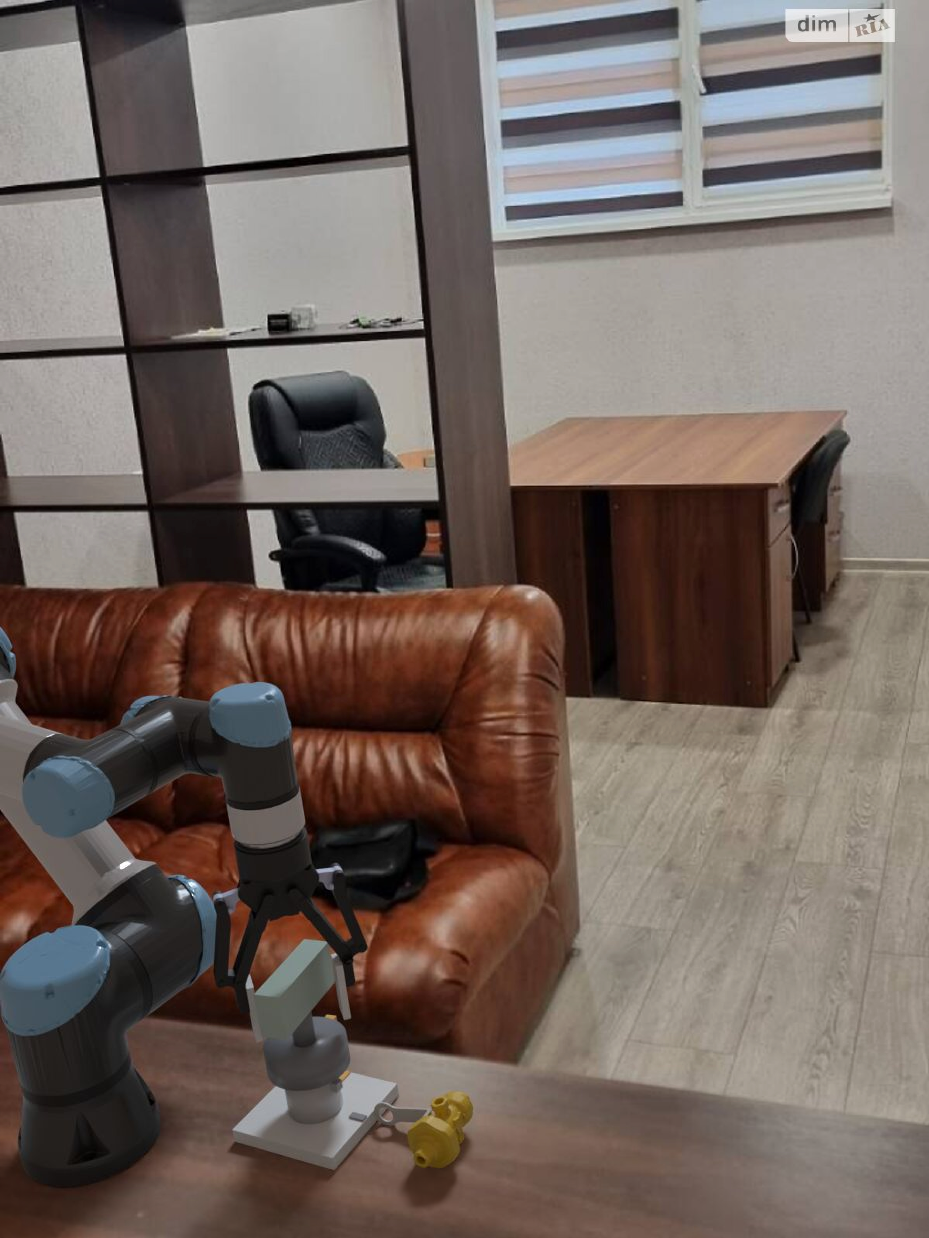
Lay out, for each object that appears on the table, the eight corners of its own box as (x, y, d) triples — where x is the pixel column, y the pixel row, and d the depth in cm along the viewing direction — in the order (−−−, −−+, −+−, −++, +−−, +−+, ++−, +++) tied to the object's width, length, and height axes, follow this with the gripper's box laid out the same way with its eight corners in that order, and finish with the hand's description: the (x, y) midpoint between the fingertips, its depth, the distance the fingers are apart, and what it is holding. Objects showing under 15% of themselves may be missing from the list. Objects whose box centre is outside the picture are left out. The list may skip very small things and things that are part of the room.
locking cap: (322, 1102, 140) (305, 1000, 137) (247, 1089, 144) (228, 991, 140) (370, 1036, 150) (355, 941, 147) (299, 1027, 154) (283, 933, 150)
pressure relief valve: (490, 1121, 144) (449, 1185, 136) (394, 1117, 150) (350, 1178, 141) (476, 1076, 143) (434, 1138, 134) (380, 1074, 149) (334, 1133, 140)
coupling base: (234, 1141, 147) (224, 1089, 145) (303, 1071, 157) (294, 1022, 155) (334, 1170, 140) (325, 1116, 138) (398, 1094, 151) (391, 1044, 149)
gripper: (364, 796, 145) (391, 981, 151) (160, 841, 140) (197, 1031, 146) (379, 823, 138) (407, 1016, 144) (166, 872, 133) (204, 1069, 139)
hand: (301, 1023), depth 145 cm, fingers open, 9 cm apart
